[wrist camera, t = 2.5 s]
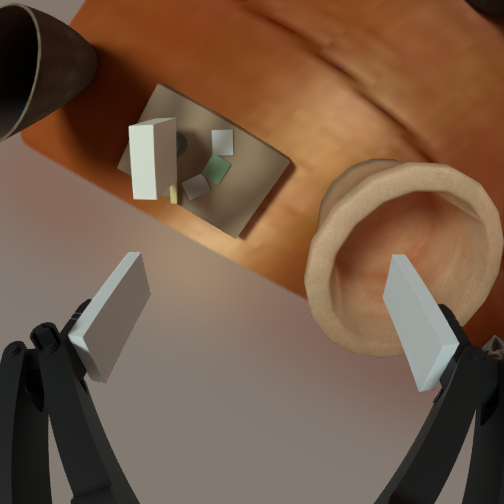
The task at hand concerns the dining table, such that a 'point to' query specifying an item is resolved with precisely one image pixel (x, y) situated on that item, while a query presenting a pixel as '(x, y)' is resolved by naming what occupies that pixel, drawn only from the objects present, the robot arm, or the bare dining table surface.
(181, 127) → the brown flat rectangular block
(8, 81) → the plant pot
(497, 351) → the coffee box
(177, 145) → the white slab
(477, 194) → the pottery
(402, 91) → the dining table surface
